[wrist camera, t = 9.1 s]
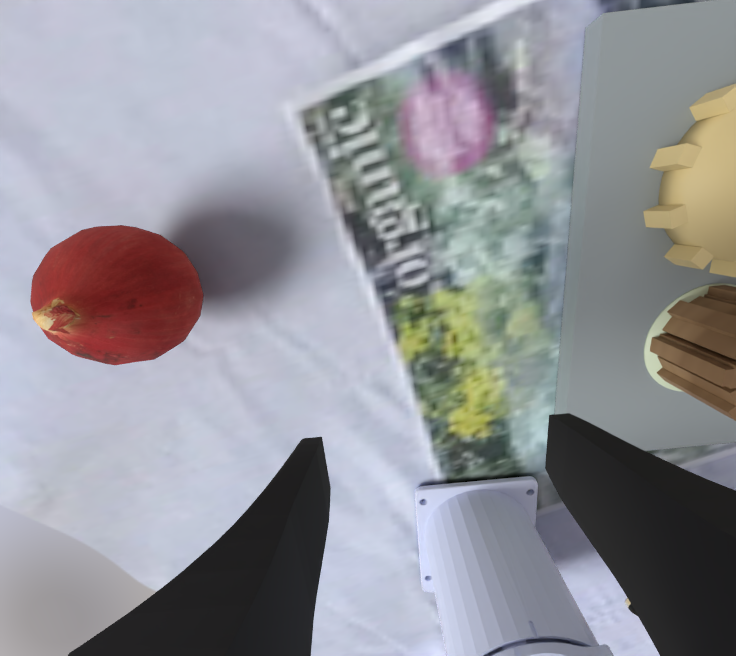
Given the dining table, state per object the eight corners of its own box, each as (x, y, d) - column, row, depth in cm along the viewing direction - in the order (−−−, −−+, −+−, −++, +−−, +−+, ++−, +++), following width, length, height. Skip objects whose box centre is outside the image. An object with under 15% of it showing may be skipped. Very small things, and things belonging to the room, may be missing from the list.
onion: (216, 343, 20) (125, 426, 12) (111, 313, 19) (-53, 381, 12) (236, 243, 18) (145, 267, 10) (121, 207, 17) (-65, 204, 10)
